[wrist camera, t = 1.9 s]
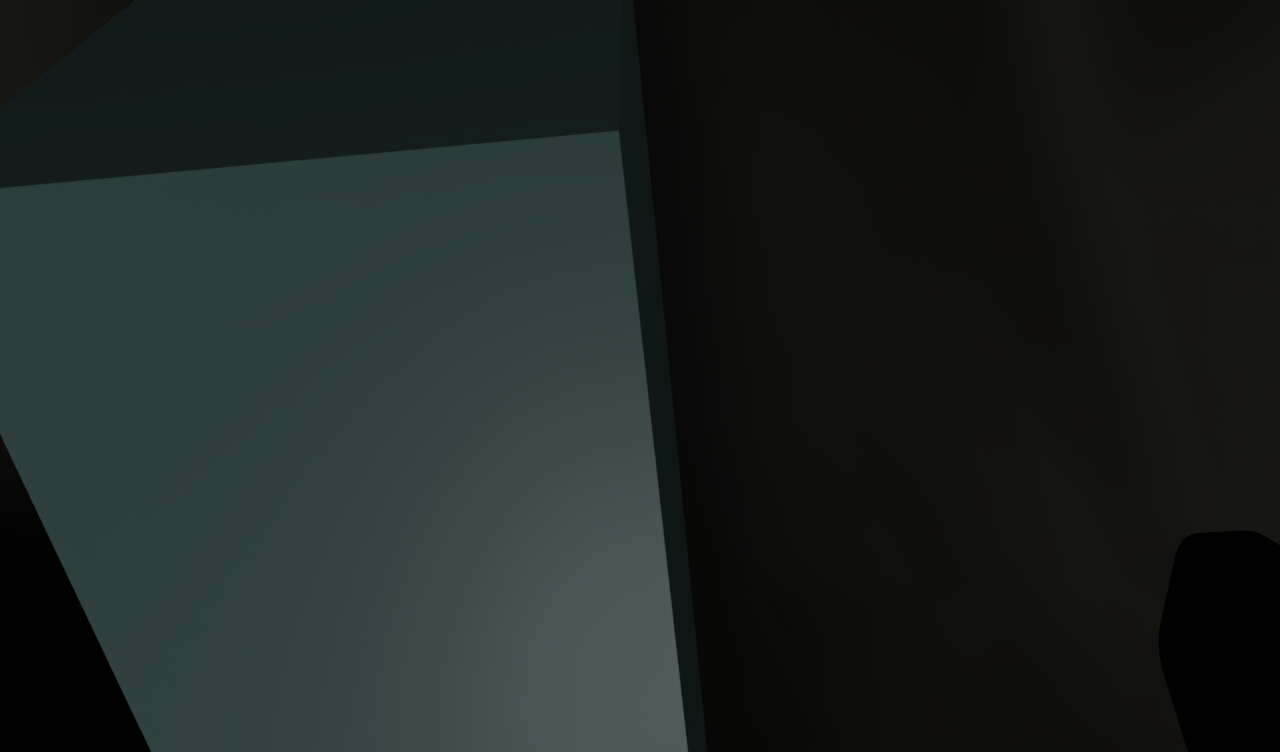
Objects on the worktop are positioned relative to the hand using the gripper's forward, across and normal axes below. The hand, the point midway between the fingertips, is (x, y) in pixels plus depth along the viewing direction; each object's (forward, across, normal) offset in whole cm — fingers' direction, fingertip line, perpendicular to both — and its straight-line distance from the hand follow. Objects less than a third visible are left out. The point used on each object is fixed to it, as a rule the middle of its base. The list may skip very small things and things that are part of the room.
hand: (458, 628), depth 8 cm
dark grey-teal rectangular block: (+3, 0, +5) cm, 6 cm away
